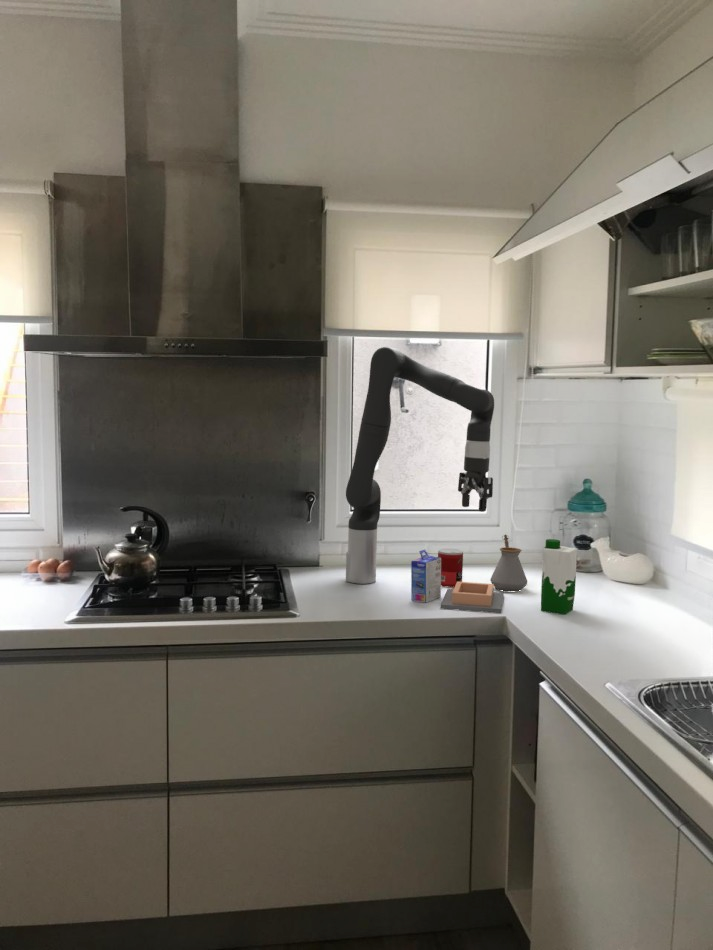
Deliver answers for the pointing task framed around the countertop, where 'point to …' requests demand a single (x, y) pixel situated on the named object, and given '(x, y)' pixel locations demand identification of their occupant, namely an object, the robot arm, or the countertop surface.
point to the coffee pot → (509, 570)
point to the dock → (473, 597)
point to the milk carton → (558, 577)
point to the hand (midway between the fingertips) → (473, 508)
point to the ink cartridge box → (425, 578)
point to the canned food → (451, 566)
